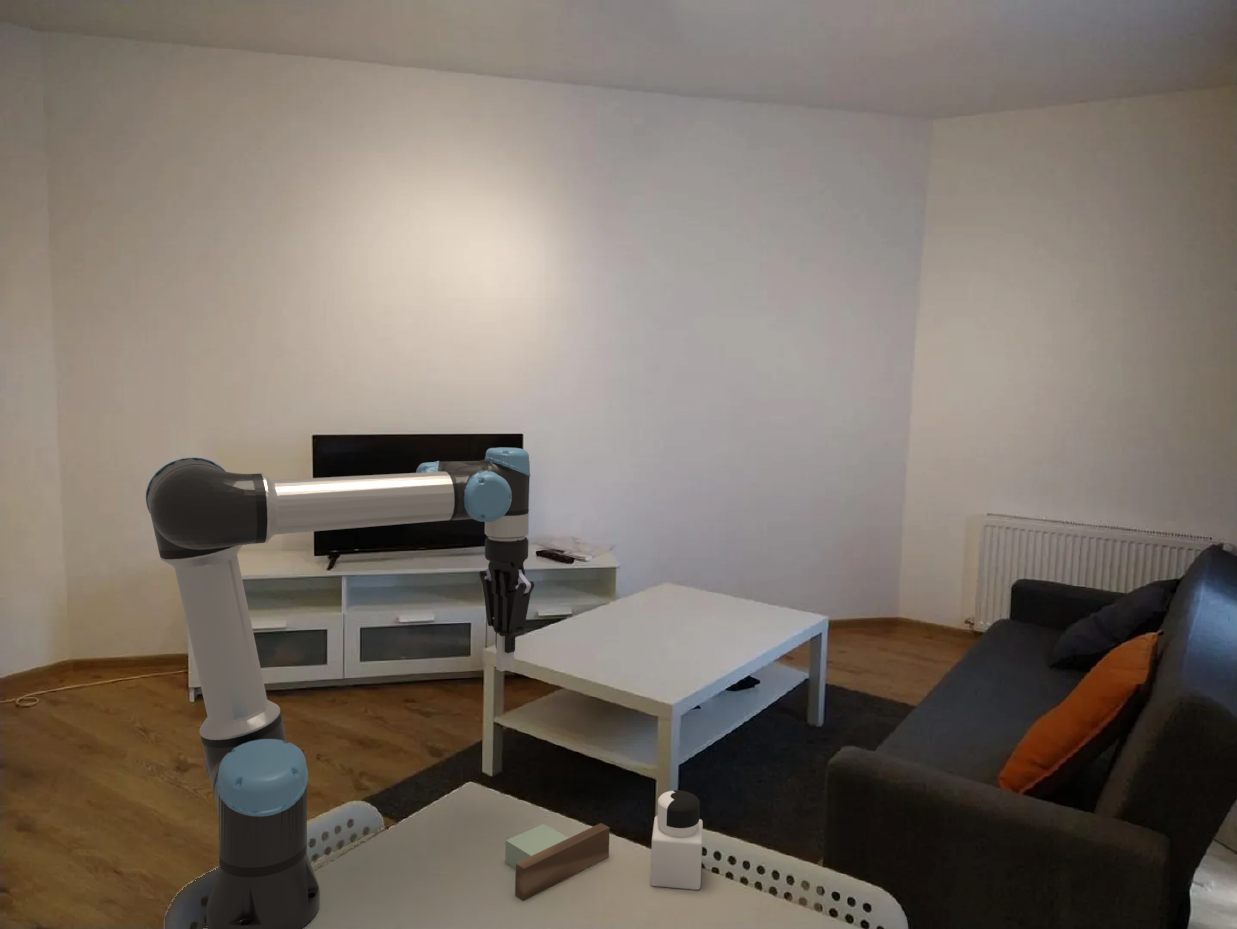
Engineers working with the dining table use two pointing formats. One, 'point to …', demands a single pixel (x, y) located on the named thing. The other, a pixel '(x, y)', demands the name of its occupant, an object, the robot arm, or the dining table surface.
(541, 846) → the block
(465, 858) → the dining table surface
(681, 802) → the container
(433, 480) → the robot arm
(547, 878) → the board
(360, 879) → the dining table surface
